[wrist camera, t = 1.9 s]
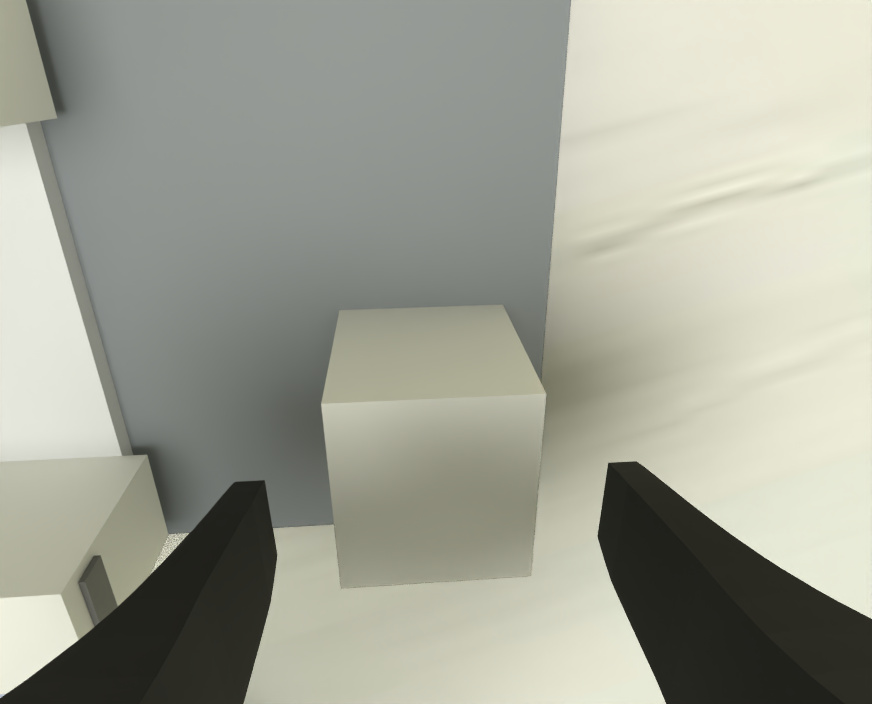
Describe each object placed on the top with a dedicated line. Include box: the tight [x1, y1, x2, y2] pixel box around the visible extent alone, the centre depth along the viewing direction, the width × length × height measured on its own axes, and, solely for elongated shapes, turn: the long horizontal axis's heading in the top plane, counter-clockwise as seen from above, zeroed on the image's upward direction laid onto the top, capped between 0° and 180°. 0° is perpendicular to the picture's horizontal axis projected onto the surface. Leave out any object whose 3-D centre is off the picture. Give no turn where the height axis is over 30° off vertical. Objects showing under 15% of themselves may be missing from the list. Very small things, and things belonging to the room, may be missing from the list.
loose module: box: [321, 305, 546, 588], centre depth 15 cm, size 5×4×5 cm
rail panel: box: [0, 0, 571, 694], centre depth 14 cm, size 16×20×7 cm
